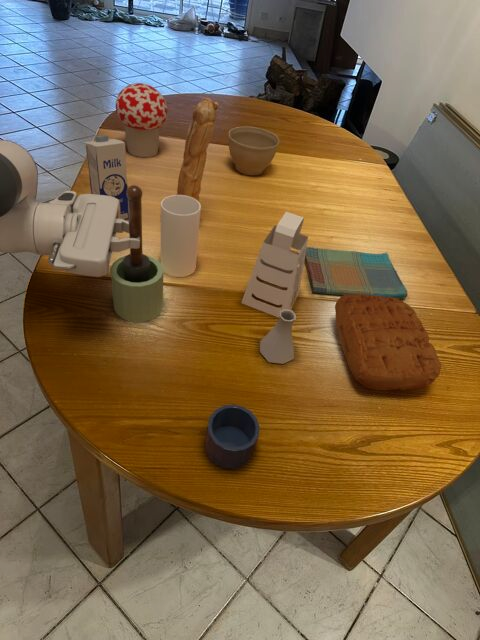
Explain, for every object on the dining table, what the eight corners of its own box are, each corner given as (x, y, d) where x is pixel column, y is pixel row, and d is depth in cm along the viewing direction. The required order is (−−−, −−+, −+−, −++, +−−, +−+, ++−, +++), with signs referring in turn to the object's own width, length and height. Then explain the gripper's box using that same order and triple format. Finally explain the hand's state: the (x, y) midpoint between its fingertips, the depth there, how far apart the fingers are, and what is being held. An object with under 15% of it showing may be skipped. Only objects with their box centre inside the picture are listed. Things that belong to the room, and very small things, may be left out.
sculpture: (211, 221, 114) (224, 103, 93) (183, 230, 109) (189, 108, 88) (197, 209, 117) (206, 93, 96) (169, 217, 112) (172, 97, 91)
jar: (127, 328, 82) (124, 292, 75) (106, 298, 87) (101, 261, 80) (171, 312, 87) (172, 277, 80) (148, 284, 92) (148, 249, 85)
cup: (202, 263, 100) (207, 203, 89) (184, 281, 94) (188, 219, 83) (172, 251, 102) (174, 190, 91) (153, 268, 96) (153, 206, 85)
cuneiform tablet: (325, 314, 93) (336, 286, 88) (397, 319, 96) (412, 292, 90) (349, 397, 78) (364, 370, 72) (434, 400, 80) (455, 374, 74)
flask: (265, 367, 80) (275, 331, 73) (254, 339, 85) (263, 303, 78) (299, 362, 82) (313, 327, 75) (287, 335, 87) (298, 300, 80)
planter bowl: (226, 155, 145) (230, 123, 137) (272, 162, 146) (278, 130, 138) (223, 176, 133) (227, 142, 126) (273, 184, 134) (280, 150, 127)
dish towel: (406, 302, 100) (411, 294, 99) (312, 295, 97) (315, 286, 96) (385, 259, 113) (389, 251, 111) (301, 251, 110) (303, 243, 108)
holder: (222, 478, 63) (227, 460, 59) (195, 438, 67) (198, 418, 63) (262, 453, 67) (269, 434, 63) (234, 417, 71) (239, 396, 67)
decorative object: (118, 139, 142) (114, 73, 128) (165, 142, 145) (166, 78, 131) (117, 160, 131) (113, 90, 117) (168, 163, 134) (169, 96, 121)
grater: (299, 292, 97) (323, 217, 83) (285, 320, 90) (309, 242, 76) (257, 277, 99) (274, 201, 85) (241, 303, 92) (256, 224, 78)
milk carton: (103, 224, 105) (95, 145, 92) (92, 211, 109) (83, 133, 95) (129, 218, 109) (125, 141, 95) (118, 206, 113) (113, 130, 99)
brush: (131, 287, 79) (126, 195, 66) (120, 273, 82) (113, 181, 68) (154, 280, 82) (154, 190, 68) (142, 266, 84) (141, 177, 71)
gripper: (41, 251, 63) (134, 257, 66) (68, 185, 78) (144, 192, 80) (48, 283, 68) (136, 287, 70) (73, 215, 82) (145, 221, 84)
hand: (140, 236), depth 75 cm, fingers closed on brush, 2 cm apart
